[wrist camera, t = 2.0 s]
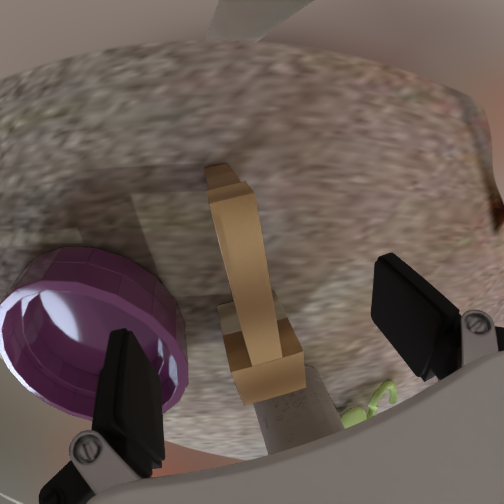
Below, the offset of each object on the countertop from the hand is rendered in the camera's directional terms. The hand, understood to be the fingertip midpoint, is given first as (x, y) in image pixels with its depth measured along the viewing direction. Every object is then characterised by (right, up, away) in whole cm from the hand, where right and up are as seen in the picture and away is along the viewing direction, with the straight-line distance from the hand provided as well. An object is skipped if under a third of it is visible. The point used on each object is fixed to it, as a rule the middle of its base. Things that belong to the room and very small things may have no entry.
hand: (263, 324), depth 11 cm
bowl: (-14, -4, +12) cm, 18 cm away
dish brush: (-1, +2, +12) cm, 12 cm away
